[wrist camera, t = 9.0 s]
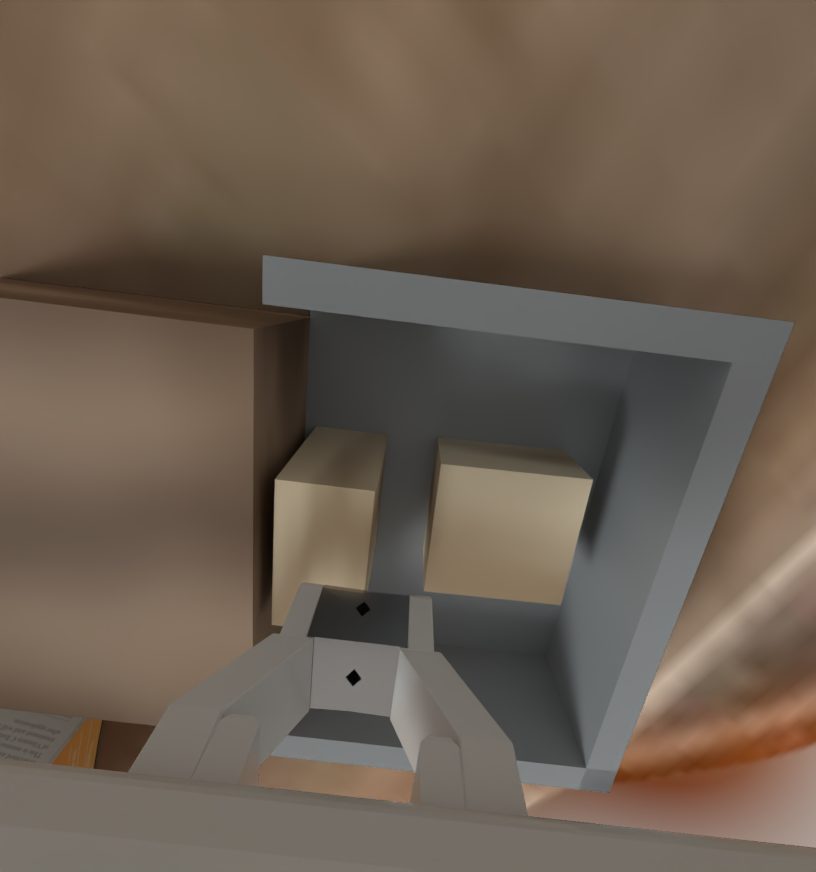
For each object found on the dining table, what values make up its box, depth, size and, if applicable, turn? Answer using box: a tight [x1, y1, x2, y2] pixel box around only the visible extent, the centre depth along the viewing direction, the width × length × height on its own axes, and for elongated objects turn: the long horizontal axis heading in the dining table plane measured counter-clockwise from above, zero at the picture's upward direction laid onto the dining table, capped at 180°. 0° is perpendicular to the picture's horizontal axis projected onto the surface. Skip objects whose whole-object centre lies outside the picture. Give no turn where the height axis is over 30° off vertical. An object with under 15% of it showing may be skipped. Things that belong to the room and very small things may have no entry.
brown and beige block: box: [0, 278, 310, 726], centre depth 13 cm, size 12×10×6 cm
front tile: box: [272, 426, 388, 626], centre depth 13 cm, size 4×4×2 cm
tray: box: [262, 255, 795, 793], centre depth 14 cm, size 15×12×5 cm
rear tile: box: [423, 437, 593, 605], centre depth 14 cm, size 4×4×2 cm
